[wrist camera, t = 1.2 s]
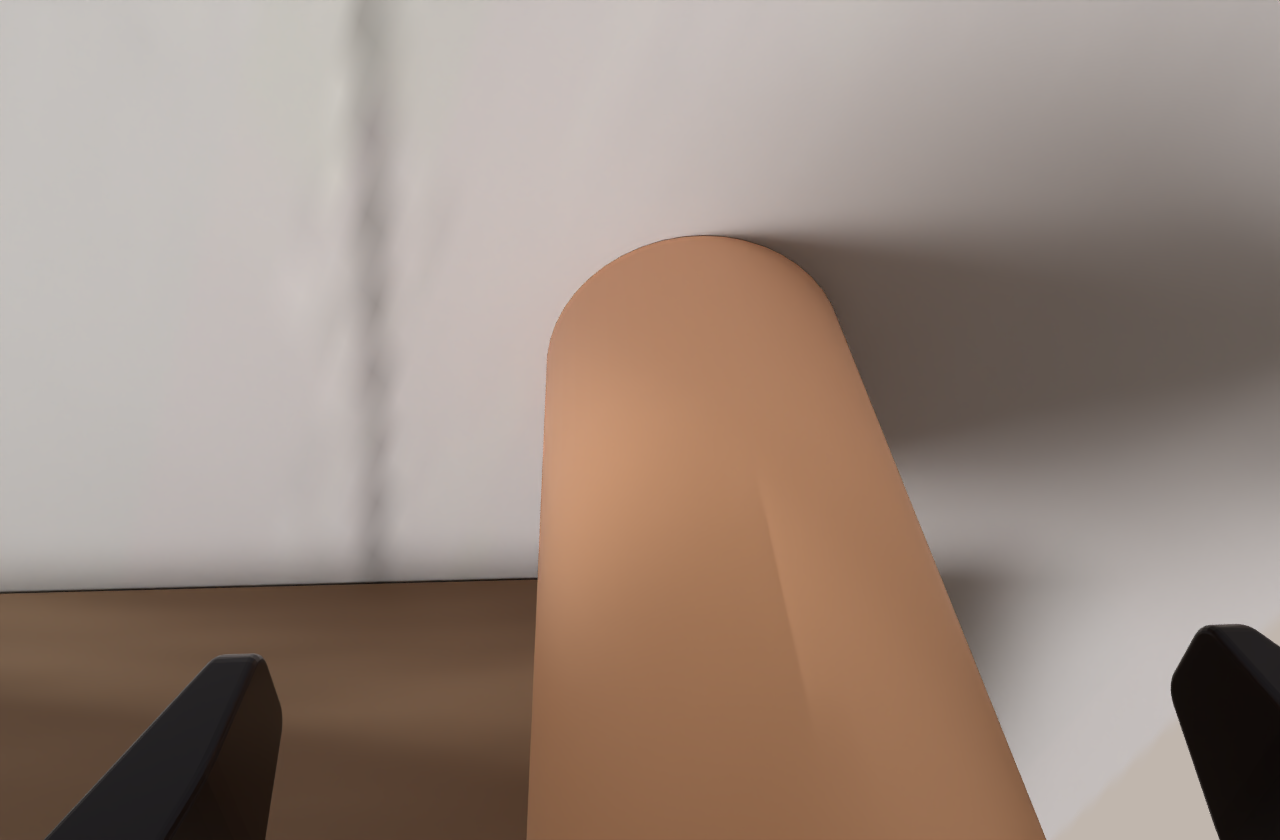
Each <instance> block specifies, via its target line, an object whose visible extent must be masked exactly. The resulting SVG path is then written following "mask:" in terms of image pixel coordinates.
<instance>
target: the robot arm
mask: <svg viewBox="0 0 1280 840" xmlns="http://www.w3.org/2000/svg"><path fill="white" fill-rule="evenodd" d="M1171 696H1172V701H1173V705H1174V708H1175V710H1176V713H1177V716H1178V719H1179V722H1180V725H1181V728H1182V731H1183V734H1184V737H1185V740H1186V743H1187V746H1188V749H1189V752H1190V755H1191V758H1192V761H1193V764H1194V766H1195V770H1196V773H1197V776H1198V778H1199V782H1200V784H1201V788H1202V790H1203V793H1204V796H1205V799H1206V802H1207V805H1208V808H1209V811H1210V814H1211V817H1212V820H1213V823H1214V826H1215V829H1216V831H1217V834H1218V836H1219V839H1220V840H1280V646H1278V645H1277V644H1275V643H1274V642H1272V641H1271V640H1270V639H1268V638H1267V637H1265V636H1264V635H1263V634H1261V633H1260V632H1258V631H1257V630H1255V629H1253V628H1251V627H1249V626H1246V625H1241V624H1224V625H1207V626H1204V627H1203V628H1201V629H1200V630H1198V632H1197V633H1196V634H1195V636H1194V638H1193V640H1192V641H1191V643H1190V645H1189V647H1188V649H1187V650H1186V652H1185V654H1184V656H1183V658H1182V659H1181V661H1180V663H1179V665H1178V667H1177V668H1176V670H1175V672H1174V674H1173V676H1172V681H1171ZM282 722H283V719H282V708H281V704H280V701H279V698H278V695H277V692H276V689H275V686H274V683H273V680H272V678H271V675H270V672H269V669H268V666H267V663H266V661H265V659H264V658H263V657H262V656H261V655H259V654H224V655H219V656H217V657H215V658H213V659H212V660H211V661H210V662H208V663H207V664H206V666H205V667H204V668H203V669H202V670H201V671H200V672H199V673H198V674H197V675H196V676H195V677H194V678H193V679H192V681H191V682H190V683H189V684H188V685H187V686H186V687H185V688H184V689H183V690H182V691H181V692H180V693H179V695H178V696H177V697H176V698H175V699H174V700H173V701H172V702H171V703H170V704H169V705H168V706H167V707H166V708H165V710H164V711H163V712H162V713H161V714H160V715H159V716H158V717H157V718H156V719H155V720H154V721H153V722H152V724H151V725H150V726H149V727H148V728H147V729H146V730H145V731H144V732H143V733H142V734H141V735H140V736H139V737H138V739H137V740H136V741H135V742H134V743H133V744H132V745H131V746H130V747H129V748H128V749H127V750H126V751H125V753H124V754H123V755H122V756H121V757H120V758H119V759H118V760H117V761H116V762H115V763H114V764H113V765H112V766H111V768H110V769H109V770H108V771H107V772H106V773H105V774H104V775H103V776H102V777H101V778H100V779H99V780H98V782H97V783H96V784H95V785H94V786H93V787H92V788H91V789H90V790H89V791H88V792H87V793H86V794H85V795H84V797H83V798H82V799H81V800H80V801H79V802H78V803H77V804H76V805H75V806H74V807H73V808H72V809H71V811H70V812H69V813H68V814H67V815H66V816H65V817H64V818H63V819H62V820H61V821H60V822H59V823H58V825H57V826H56V827H55V828H54V829H53V830H52V831H51V832H50V833H49V834H48V835H47V836H46V837H45V838H44V840H265V838H266V831H267V825H268V818H269V812H270V805H271V799H272V792H273V786H274V779H275V773H276V766H277V760H278V754H279V747H280V741H281V734H282Z"/></svg>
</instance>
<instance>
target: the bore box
mask: <svg viewBox="0 0 1280 840" xmlns="http://www.w3.org/2000/svg"><path fill="white" fill-rule="evenodd" d="M537 582H538V580H503V581H466V582H428V583H390V584H353V585H315V586H277V587H240V588H202V589H164V590H127V591H89V592H51V593H13V594H0V840H44V838H45V837H46V836H47V835H48V834H49V833H50V832H51V831H52V830H53V829H54V828H55V827H56V826H57V825H58V823H59V822H60V821H61V820H62V819H63V818H64V817H65V816H66V815H67V814H68V813H69V812H70V811H71V809H72V808H73V807H74V806H75V805H76V804H77V803H78V802H79V801H80V800H81V799H82V798H83V797H84V795H85V794H86V793H87V792H88V791H89V790H90V789H91V788H92V787H93V786H94V785H95V784H96V783H97V782H98V780H99V779H100V778H101V777H102V776H103V775H104V774H105V773H106V772H107V771H108V770H109V769H110V768H111V766H112V765H113V764H114V763H115V762H116V761H117V760H118V759H119V758H120V757H121V756H122V755H123V754H124V753H125V751H126V750H127V749H128V748H129V747H130V746H131V745H132V744H133V743H134V742H135V741H136V740H137V739H138V737H139V736H140V735H141V734H142V733H143V732H144V731H145V730H146V729H147V728H148V727H149V726H150V725H151V724H152V722H153V721H154V720H155V719H156V718H157V717H158V716H159V715H160V714H161V713H162V712H163V711H164V710H165V708H166V707H167V706H168V705H169V704H170V703H171V702H172V701H173V700H174V699H175V698H176V697H177V696H178V695H179V693H180V692H181V691H182V690H183V689H184V688H185V687H186V686H187V685H188V684H189V683H190V682H191V681H192V679H193V678H194V677H195V676H196V675H197V674H198V673H199V672H200V671H201V670H202V669H203V668H204V667H205V666H206V664H207V663H208V662H210V661H211V660H212V659H213V658H215V657H217V656H219V655H224V654H259V655H261V656H262V657H263V658H264V659H265V661H266V663H267V666H268V669H269V672H270V675H271V678H272V680H273V683H274V686H275V689H276V692H277V695H278V698H279V701H280V704H281V708H282V719H283V722H282V734H281V741H280V747H279V754H278V760H277V766H276V773H275V779H274V786H273V792H272V799H271V805H270V812H269V818H268V825H267V831H266V838H265V840H526V838H527V815H528V791H529V768H530V745H531V722H532V698H533V675H534V652H535V629H536V605H537Z"/></svg>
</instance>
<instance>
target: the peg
mask: <svg viewBox="0 0 1280 840" xmlns="http://www.w3.org/2000/svg"><path fill="white" fill-rule="evenodd" d="M526 840H1046V838H1045V835H1044V833H1043V830H1042V828H1041V825H1040V823H1039V820H1038V818H1037V815H1036V813H1035V810H1034V808H1033V805H1032V803H1031V800H1030V798H1029V795H1028V793H1027V790H1026V788H1025V785H1024V783H1023V780H1022V778H1021V775H1020V773H1019V770H1018V768H1017V766H1016V763H1015V761H1014V758H1013V756H1012V753H1011V751H1010V748H1009V746H1008V743H1007V741H1006V738H1005V736H1004V733H1003V731H1002V728H1001V726H1000V723H999V721H998V718H997V716H996V713H995V711H994V708H993V706H992V703H991V701H990V698H989V696H988V693H987V691H986V688H985V686H984V683H983V681H982V678H981V676H980V673H979V671H978V668H977V666H976V663H975V661H974V658H973V656H972V653H971V651H970V648H969V646H968V643H967V641H966V639H965V636H964V634H963V631H962V629H961V626H960V624H959V621H958V619H957V616H956V614H955V611H954V609H953V606H952V604H951V601H950V599H949V596H948V594H947V591H946V589H945V586H944V584H943V581H942V579H941V576H940V574H939V571H938V569H937V566H936V564H935V561H934V559H933V556H932V554H931V551H930V549H929V546H928V544H927V541H926V539H925V536H924V534H923V531H922V529H921V526H920V524H919V521H918V519H917V516H916V514H915V511H914V509H913V507H912V504H911V502H910V499H909V497H908V494H907V492H906V489H905V487H904V484H903V482H902V479H901V477H900V474H899V472H898V469H897V467H896V464H895V462H894V459H893V457H892V454H891V452H890V449H889V447H888V444H887V442H886V439H885V437H884V434H883V432H882V429H881V427H880V424H879V422H878V419H877V417H876V414H875V412H874V409H873V407H872V404H871V402H870V399H869V397H868V394H867V392H866V389H865V387H864V384H863V382H862V379H861V377H860V375H859V372H858V370H857V367H856V365H855V362H854V360H853V357H852V355H851V352H850V350H849V347H848V345H847V342H846V340H845V337H844V335H843V332H842V330H841V327H840V325H839V322H838V320H837V317H836V315H835V312H834V310H833V307H832V305H831V303H830V302H829V300H828V298H827V297H826V295H825V293H824V292H823V290H822V289H821V288H820V286H819V285H818V284H817V283H816V282H815V281H814V279H813V278H812V277H811V276H810V275H809V274H808V273H806V272H805V271H804V270H803V269H802V268H801V267H799V266H798V265H797V264H796V263H794V262H792V261H791V260H789V259H788V258H786V257H785V256H783V255H781V254H779V253H777V252H775V251H773V250H771V249H768V248H766V247H764V246H761V245H758V244H755V243H751V242H748V241H745V240H740V239H734V238H728V237H719V236H692V237H680V238H675V239H669V240H664V241H660V242H656V243H653V244H650V245H647V246H644V247H641V248H638V249H636V250H634V251H632V252H630V253H627V254H625V255H623V256H621V257H619V258H618V259H616V260H614V261H613V262H611V263H609V264H608V265H606V266H604V267H603V268H602V269H601V270H599V271H598V272H597V273H596V274H594V275H593V276H592V277H590V278H589V279H588V280H587V281H586V282H585V283H584V284H583V285H582V286H581V287H580V288H579V289H578V290H577V292H576V293H575V294H574V295H573V297H572V298H571V299H570V301H569V302H568V303H567V305H566V306H565V307H564V309H563V311H562V313H561V315H560V317H559V319H558V321H557V322H556V325H555V328H554V330H553V333H552V336H551V339H550V344H549V349H548V354H547V373H546V396H545V419H544V442H543V466H542V489H541V512H540V536H539V559H538V582H537V605H536V629H535V652H534V675H533V698H532V722H531V745H530V768H529V791H528V815H527V838H526Z"/></svg>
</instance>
